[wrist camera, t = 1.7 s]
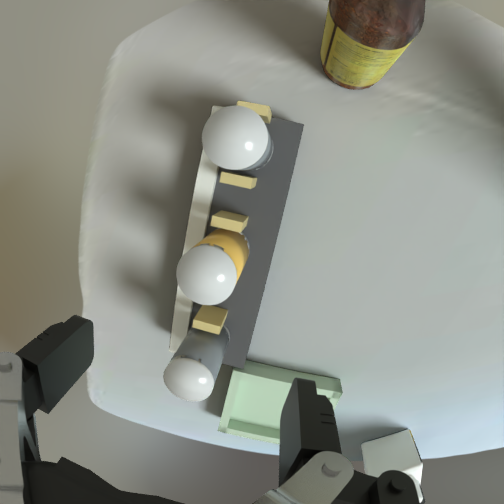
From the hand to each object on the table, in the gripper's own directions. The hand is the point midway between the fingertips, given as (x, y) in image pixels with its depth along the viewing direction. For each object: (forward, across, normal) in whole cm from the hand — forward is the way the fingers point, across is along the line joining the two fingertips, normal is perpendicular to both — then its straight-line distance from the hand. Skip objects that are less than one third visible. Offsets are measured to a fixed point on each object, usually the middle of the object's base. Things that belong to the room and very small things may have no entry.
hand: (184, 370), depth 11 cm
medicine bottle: (+20, -26, +24) cm, 40 cm away
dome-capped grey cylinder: (+18, +1, -9) cm, 20 cm away
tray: (+20, -8, +17) cm, 28 cm away
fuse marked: (+18, +1, 0) cm, 18 cm away
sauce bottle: (+20, -6, -20) cm, 29 cm away
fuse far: (+18, +1, +9) cm, 20 cm away
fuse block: (+20, +1, 0) cm, 20 cm away
